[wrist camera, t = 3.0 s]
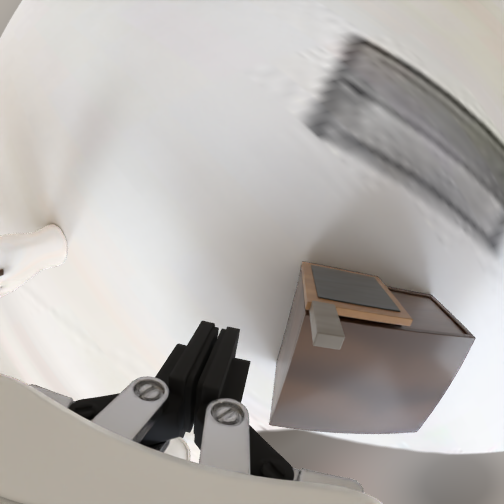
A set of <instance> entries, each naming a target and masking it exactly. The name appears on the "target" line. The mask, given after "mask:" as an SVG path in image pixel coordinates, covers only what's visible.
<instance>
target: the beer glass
mask: <svg viewBox="0 0 504 504" xmlns="http://www.w3.org/2000/svg"><path fill="white" fill-rule="evenodd" d="M66 257H67V242H66V239H65V236H64V234H63V232H62V230H61V229H60V228H59V227H58V226H56V225H54V224H49V225H47V226H45V227H43V228H41V229H39V230H37V231H35V232H30V233H16V234H5V235H0V298H1V297H3V296H5V295H7V294H9V293H11V292H13V291H15V290H16V289H18V288H19V287H20V286H22V285H23V284H24V283H26V282H27V281H28V280H29V279H31V278H32V277H33V276H35V275H36V274H37V273H39V272H40V271H42V270H44V269H47V268H51V267H57V266H60V265H62V264H63V263H64V262H65V260H66Z"/></svg>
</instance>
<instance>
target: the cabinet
mask: <svg viewBox="0 0 504 504" xmlns="http://www.w3.org/2000/svg"><path fill="white" fill-rule="evenodd" d="M386 287H387V286H386ZM387 288H388V289H389V290H390V292H391V293H392V294H393V295H394V296H395V298H396V299H397V300H398V301H399V303H400V304H401V305H402V306H403V307H404V309H405V310H406V311H407V313H408V314H409V315H410V316H411V318H412V319H413V321H412V323H411V326H404V325H397V324H390V323H383V322H377V321H370V320H364V319H358V318H352V317H346V316H340V315H338V316H339V319H340V322H341V326H342V329H343V332H344V335H345V338H344V341H343V344H342V346H341V349H340V350H338V349H331V348H324V347H318V346H313V340H312V331H311V322H310V313H309V310H306V309H305V299H304V289H303V280H302V270H301V271H300V275H299V279H298V284H297V288H296V292H295V296H294V300H293V304H292V308H291V312H290V315H289V319H288V323H287V327H286V331H285V334H284V338H283V342H282V345H281V349H280V352H279V356H278V359H277V363H276V372H275V381H274V390H273V398H272V406H271V414H270V422H269V425H273V426H279V427H286V428H293V429H301V430H310V431H320V432H334V433H355V434H390V433H410V432H417V431H418V430H419V429H420V427H421V426H422V425H423V423H424V422H425V421H426V419H427V418H428V417H429V415H430V414H431V413H432V411H433V410H434V408H435V407H436V405H437V404H438V403H439V401H440V400H441V398H442V397H443V395H444V393H445V392H446V390H447V389H448V387H449V386H450V384H451V382H452V381H453V379H454V377H455V376H456V374H457V372H458V371H459V369H460V367H461V365H462V363H463V362H464V360H465V358H466V356H467V354H468V352H469V350H470V348H471V346H472V344H473V342H474V340H475V337H474V336H473V335H472V334H471V333H470V332H469V331H468V330H467V329H466V328H465V327H464V326H463V325H462V324H461V323H460V322H459V321H458V320H457V319H456V318H455V317H454V316H453V315H452V314H451V313H450V312H449V311H448V310H447V309H446V308H445V307H444V306H443V305H442V304H441V303H440V302H439V301H438V300H437V299H435V298H434V297H433V296H432V295H429V294H423V293H418V292H413V291H408V290H402V289H397V288H392V287H387Z"/></svg>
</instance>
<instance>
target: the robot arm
mask: <svg viewBox="0 0 504 504" xmlns="http://www.w3.org/2000/svg"><path fill="white" fill-rule="evenodd" d="M218 330H219V328H217V327H215V324H214V323H210V322H206V321H202V322H201V323H200V325H199V327H198V328H197V330H196V332H195V333H194V335H193V336H192V338H191V340H190V341H189V343H188V345H187V346H185V345H182V344H177V345H176V347H175V348H174V350H173V351H172V353H171V354H170V356H169V357H168V359H167V360H166V362H165V363H164V365H163V366H162V368H161V369H160V371H159V372H158V374H157V375H156V377H141V378H138V379H136V380H134V381H133V382H132V383H131V384H130V385H129V386H127V387H126V388H125V389H124V390H123V391H122V392H121V393H120V394H114V395H108V396H102V397H95V398H88V399H81V400H78V401H73V399H72V398H70V397H67V396H64V395H61V394H58V393H56V392H53V391H50V390H47V389H45V388H42V387H40V386H37V385H33V384H31V385H28V384H26V383H24V382H22V381H20V380H18V379H16V378H13V377H10V376H7V375H4V374H0V504H383V503H382V502H381V501H380V500H378V499H376V498H375V497H373V496H370V495H368V494H366V493H363V488H362V486H361V484H360V483H358V482H357V481H356V480H353V479H350V478H344V477H338V476H334V475H329V474H324V473H319V472H315V471H311V470H307V469H303V468H302V469H301V470H298V469H294V468H292V467H291V465H290V464H289V463H288V462H287V461H286V460H285V459H284V458H283V457H282V456H281V455H280V454H278V453H277V452H276V451H275V450H274V449H273V448H272V447H271V446H270V445H269V444H268V443H267V442H266V441H265V440H264V439H263V438H262V437H261V436H260V435H259V434H258V433H257V432H256V431H255V430H254V429H253V428H252V427H251V426H250V425H249V414H248V410H247V409H246V407H245V406H244V405H243V404H241V401H242V396H243V392H244V387H245V383H246V379H247V374H248V370H249V365H250V361H247V360H242V359H238V358H235V354H236V349H237V343H238V338H239V332H240V329H236V328H232V327H227V329H222V330H221V332H220V334H219V336H218ZM217 338H218V339H217ZM193 425H194V434H195V440H194V442H195V444H196V445H197V446H198V448H199V449H200V450H201V451H200V459H199V464H198V463H195V462H191V461H188V460H185V459H181V458H178V457H175V456H172V455H169V454H166V453H164V452H165V450H166V449H167V447H168V446H169V444H170V442H171V439H174V438H178V437H182V438H183V437H184V434H185V432H189V433H190V432H191V430H192V427H193Z"/></svg>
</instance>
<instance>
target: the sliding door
mask: <svg viewBox="0 0 504 504" xmlns="http://www.w3.org/2000/svg"><path fill="white" fill-rule="evenodd" d="M301 270H302V280H303V289H304V299H305V309H306V310H309V313H310V322H311V331H312V340H313V346H318V347H324V348H331V349H338V350H340V349H341V346H342V344H343V341H344V338H345V335H344V332H343V329H342V326H341V322H340V319H339V316H338V315H340V316H346V317H352V318H358V319H364V320H370V321H377V322H383V323H390V324H397V325H404V326H411V323H412V321H413V319H412V318H411V316H410V315H409V314H408V313H407V311H406V310H405V309H404V307H403V306H402V305H401V304H400V303H399V301H398V300H397V299H396V298H395V296H394V295H393V294H392V293H391V292H390V290H389V289H388V288H387V287H386V286H385V284H384V283H383V282H382V281H381V280H380V278H379V277H377V276H372V275H367V274H363V273H358V272H353V271H348V270H343V269H338V268H333V267H328V266H323V265H318V264H313V263H308V262H303V261H302V265H301Z"/></svg>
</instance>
